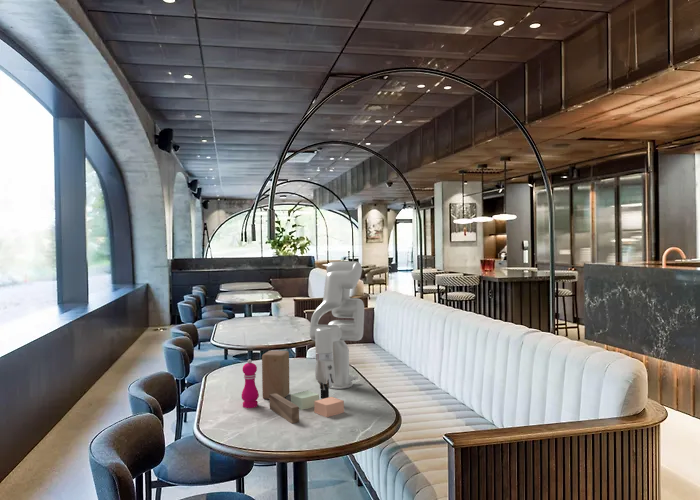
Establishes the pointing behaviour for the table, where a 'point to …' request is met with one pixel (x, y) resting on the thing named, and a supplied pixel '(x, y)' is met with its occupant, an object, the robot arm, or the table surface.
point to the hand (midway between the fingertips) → (324, 398)
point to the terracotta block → (329, 406)
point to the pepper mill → (250, 386)
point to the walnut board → (284, 408)
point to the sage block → (304, 399)
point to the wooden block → (275, 373)
